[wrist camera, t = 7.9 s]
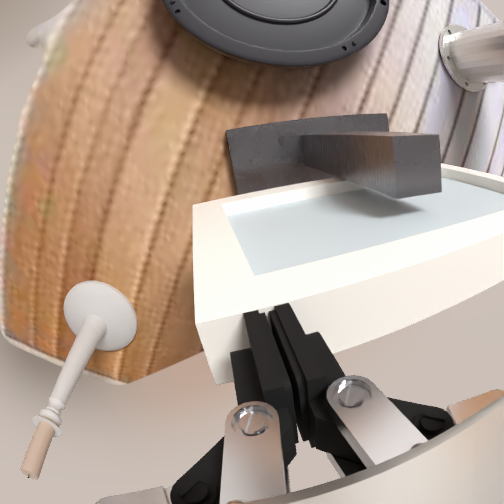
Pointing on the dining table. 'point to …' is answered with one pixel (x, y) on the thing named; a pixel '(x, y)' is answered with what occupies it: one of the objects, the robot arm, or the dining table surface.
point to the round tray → (281, 28)
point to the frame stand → (336, 155)
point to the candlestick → (81, 355)
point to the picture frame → (342, 258)
